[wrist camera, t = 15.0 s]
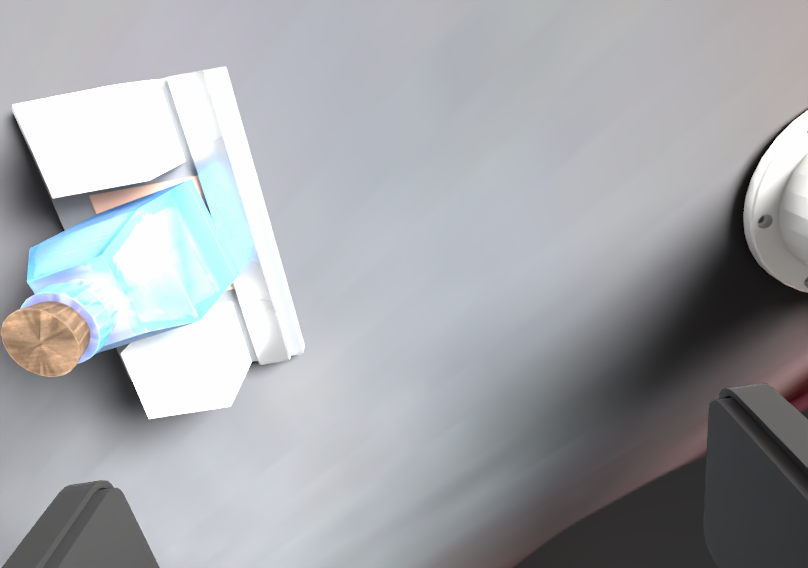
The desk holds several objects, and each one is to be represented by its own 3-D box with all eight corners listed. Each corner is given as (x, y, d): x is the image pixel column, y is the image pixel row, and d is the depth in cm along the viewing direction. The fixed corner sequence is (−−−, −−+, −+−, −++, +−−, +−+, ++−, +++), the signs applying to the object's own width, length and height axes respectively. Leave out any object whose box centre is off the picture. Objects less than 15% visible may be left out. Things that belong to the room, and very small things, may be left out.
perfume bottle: (191, 178, 32) (60, 251, 21) (239, 274, 34) (145, 385, 23) (100, 212, 33) (-70, 299, 22) (152, 302, 35) (22, 422, 24)
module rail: (305, 346, 38) (288, 397, 32) (136, 373, 38) (92, 427, 33) (226, 66, 31) (187, 70, 25) (22, 106, 31) (-58, 118, 26)
